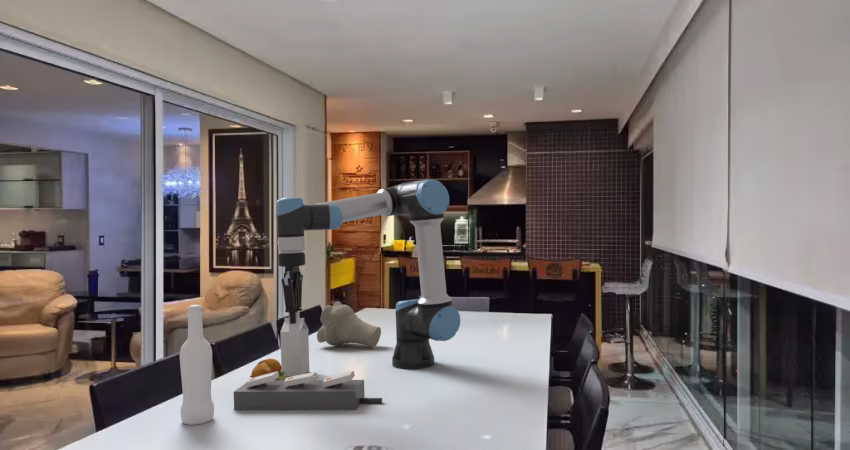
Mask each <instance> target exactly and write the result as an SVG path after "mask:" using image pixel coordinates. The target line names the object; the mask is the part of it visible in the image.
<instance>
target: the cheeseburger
mask: <svg viewBox="0 0 850 450" xmlns="http://www.w3.org/2000/svg"><path fill="white" fill-rule="evenodd" d="M277 371H278V373H279V377H278V378H276V379H275V380H286V379H287V376H285V373H286V372H284V371H281V363H280V361H279V360H278V359H275V358H267V359H266V358H265V359H263V360H260V361H259V362H258V363H257V364H256V365H255V366H254V367H253V369H252V371H251V375H249V377H250V378H254V377H258V376H262V375H266V374H269V373H273V372H277Z"/></svg>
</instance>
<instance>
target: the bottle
mask: <svg viewBox="0 0 850 450" xmlns="http://www.w3.org/2000/svg"><path fill="white" fill-rule="evenodd" d="M203 315H204V312H203V306H202V304H193V305H189V306H188V307H187V315H186V316H187V339H186V340H185V342H183V344H182V346H181V347H180V351H179V363H180V365H179V366H180V376H181V378H180V379H181V386H182V403H181V407H180V419H181V422H182V423H183V424H184V425H188V426H195V425H197V424H198V425H202V424H206V423H208V422H210V421H212V420H213V418H214V416H215V415H214V413H215V405H214V402H213V400H212V376H213V375H212V372H213V371H212V370H213V367H212V366H213V349H212V346H211V344H210V343H209V341H208V340H207V339H206V338H205V337H204V325H203V324H204V323H203Z"/></svg>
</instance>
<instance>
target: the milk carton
mask: <svg viewBox="0 0 850 450" xmlns="http://www.w3.org/2000/svg"><path fill="white" fill-rule="evenodd" d="M280 329H281V330H280V332H279V333H280V362H281V363H280V365H281V371H284V372H286V373H285V376H286V377H292V376H297V375H302V374H307V373H310V342H309V340H310V339H309V327H308V325H307V324H306V321H305V317H302V318H301V317H300V334H299V335H289V317H285V318H284V321H283V324H282V327H281V328H280Z"/></svg>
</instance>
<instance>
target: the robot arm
mask: <svg viewBox="0 0 850 450" xmlns="http://www.w3.org/2000/svg"><path fill="white" fill-rule="evenodd" d="M303 200H304V199H303V198H301V197H282V198H278V199H277V201H276V207H275V208H276V209H275V211H276V212H275V216H276V230H277V241H276V242H275V244H276V245H277V251H278V252H280V253H278V254H277V259H278V261H277V262H278V266H279V267H280V268H281V267H284V273H283V277H282V278H281V280H280V281H281V285H282V289H283V298H284V305H285V310H284V312H285V313H288V318H289V335H299V334H300V318H301V317H300V311H301V312H302V311H303V308H302V302H303V301H302V300H303V299H302V298H303V297H302V296H303V294H302V293H303V279H304V275H303V274H302V272H301V269H300V267H301V266H305V265H306V253H305V252H304V251H305V250H306V243H305V231H307V232H308V231H331V230H337V229H339V228H340V227H341V225H342V223H346V222H347V223H348V222H352V221H357V220H362V219H366V218H371V217H376V216H381V217H382V216H383V217H384V218H385V217H390V216H391V217H392V216H409V217H408V218H409V219H408V220H409V222H410V224H412V226H414V231H415V241H416V242H415V243H416V251H417V263H418V264H417V265H418V271H419V272H418V274H419V285H420V298H416V299H408V300H399V301H397V302H396V304H395V312H394V313H395V329H396V331H395V332H396V344H395V347H394V351H393V354H392V360H391V364H392V365H391V366H393V367H394V368H398V369H406V370H407V369H410V370H416V369H424V368H429V367H432V366H434V365H435V364H436V363H435V361H436V359H435V355H434V352H433V350H432V346H431V344H430V340H433V341H436V342H439V341H441V342H446V341H450V340H452V339H453V338H454V337H455V336H456V333H458V331H459V330H460V326H461V315H460V312H459V311H458V309H457V308H455V307H453V301H452V300H453V299H452V297H451V296H449V295H448V293H447V284H446V275H445V274H446V273H445V272H446V271H445V264H444V263H445V261H444V254H443V253H444V252H443V241H442V232H441V230H442V229H441V223H442V222H443V221H444V220H445V212H446V211H447V209H448V207H449V205H450V195H449V191H448V189H447V188H446V187H445V185H443V183H442V182H440V181H439V180H437V179H426V178H425V179H422V180H421V179H420V180H414V181H408V182H402V183H400V184H396V185H393V186H391V187H387V188H381V189H379V190H378V191H377V192H375V193H371V194H370V193H368V194H364V195H359V196H353V197H346V198H342V199H341V198H340V199H335V200H330V201H325V202H318V203H313V204H305V203H304V201H303Z"/></svg>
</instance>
